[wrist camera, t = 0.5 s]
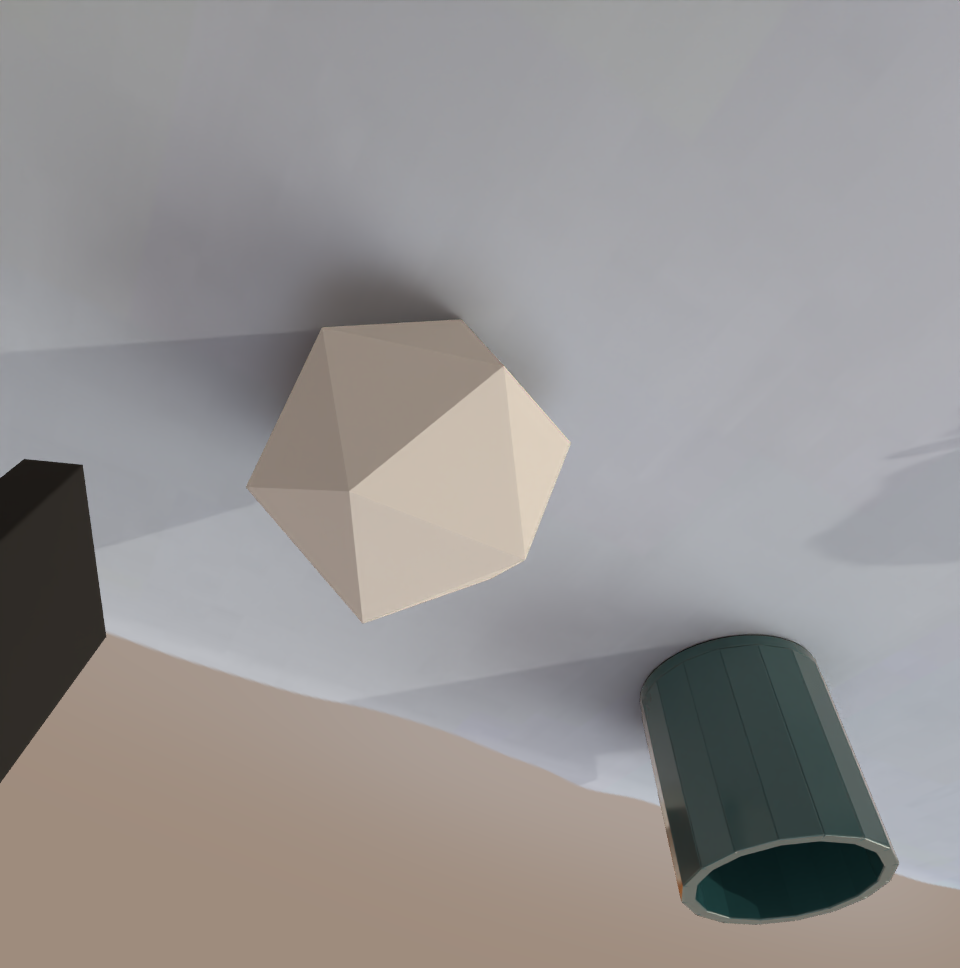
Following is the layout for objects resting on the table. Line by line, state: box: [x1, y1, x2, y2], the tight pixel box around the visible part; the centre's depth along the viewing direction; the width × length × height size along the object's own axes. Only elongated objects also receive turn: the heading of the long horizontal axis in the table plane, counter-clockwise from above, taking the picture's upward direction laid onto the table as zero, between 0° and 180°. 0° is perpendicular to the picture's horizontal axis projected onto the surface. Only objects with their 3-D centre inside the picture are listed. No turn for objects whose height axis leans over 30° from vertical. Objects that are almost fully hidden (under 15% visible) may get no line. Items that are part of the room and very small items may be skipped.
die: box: [246, 319, 571, 623], centre depth 26 cm, size 8×9×10 cm
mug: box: [640, 635, 899, 925], centre depth 40 cm, size 12×9×10 cm
